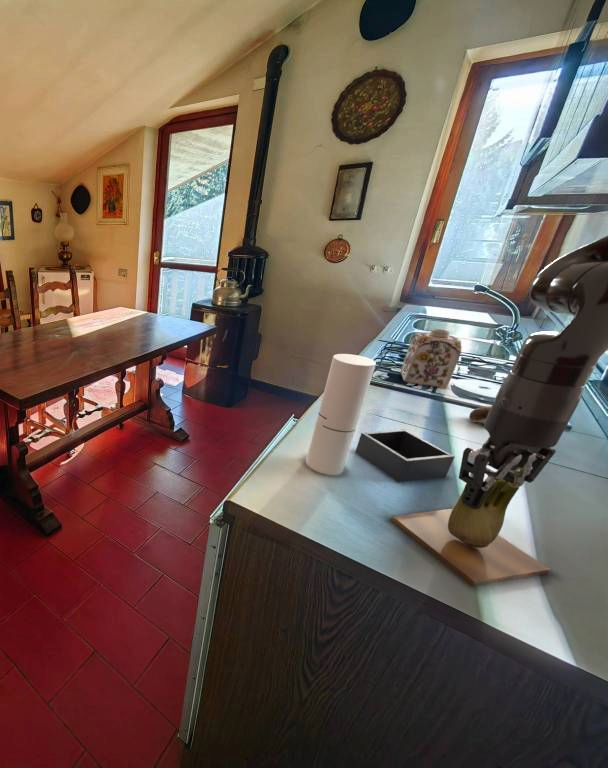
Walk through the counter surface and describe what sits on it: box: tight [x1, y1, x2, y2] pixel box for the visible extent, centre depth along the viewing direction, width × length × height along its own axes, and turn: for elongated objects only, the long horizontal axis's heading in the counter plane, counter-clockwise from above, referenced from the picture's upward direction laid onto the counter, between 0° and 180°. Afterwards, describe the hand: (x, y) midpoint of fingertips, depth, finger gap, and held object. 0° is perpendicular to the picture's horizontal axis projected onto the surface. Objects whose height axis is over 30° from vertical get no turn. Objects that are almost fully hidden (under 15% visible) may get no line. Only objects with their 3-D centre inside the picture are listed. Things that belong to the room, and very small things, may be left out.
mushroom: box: [468, 405, 492, 424], centre depth 104 cm, size 8×8×6 cm
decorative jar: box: [400, 328, 462, 389], centre depth 131 cm, size 12×12×18 cm
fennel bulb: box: [448, 478, 520, 548], centre depth 62 cm, size 6×5×12 cm
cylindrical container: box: [305, 353, 377, 476], centre depth 81 cm, size 7×7×25 cm
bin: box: [355, 428, 455, 483], centre depth 85 cm, size 12×12×6 cm
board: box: [390, 508, 551, 587], centre depth 64 cm, size 14×14×1 cm
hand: (483, 503), depth 61 cm, fingers closed on fennel bulb, 4 cm apart
